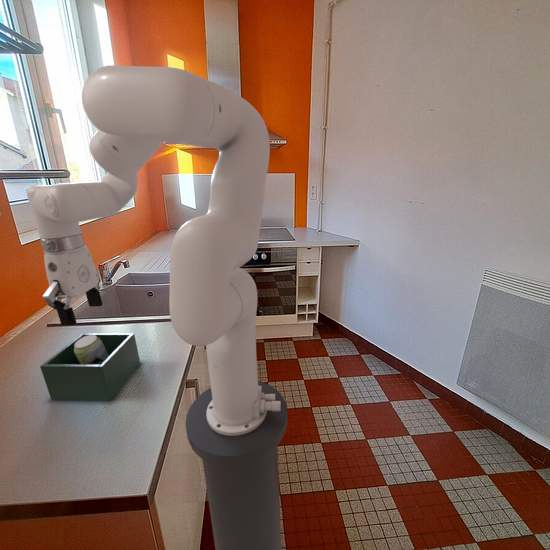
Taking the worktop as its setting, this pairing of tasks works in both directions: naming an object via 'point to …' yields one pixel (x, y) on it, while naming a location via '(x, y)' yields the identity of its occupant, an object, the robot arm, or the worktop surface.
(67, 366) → the waste bin
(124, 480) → the worktop surface
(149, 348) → the worktop surface
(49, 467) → the worktop surface
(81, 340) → the beverage can
